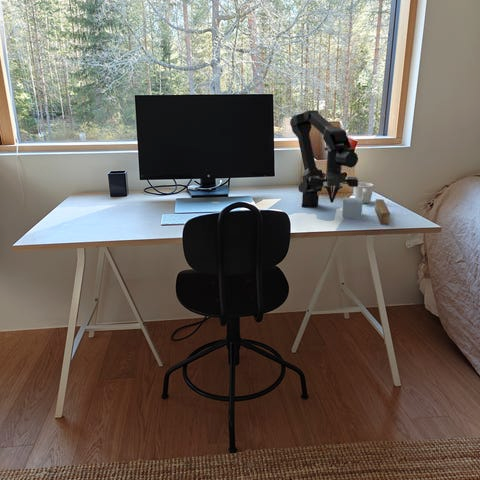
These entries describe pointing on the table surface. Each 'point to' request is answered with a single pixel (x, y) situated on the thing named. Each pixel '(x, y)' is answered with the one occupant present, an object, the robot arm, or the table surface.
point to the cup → (364, 191)
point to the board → (382, 212)
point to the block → (352, 208)
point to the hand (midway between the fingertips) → (331, 202)
